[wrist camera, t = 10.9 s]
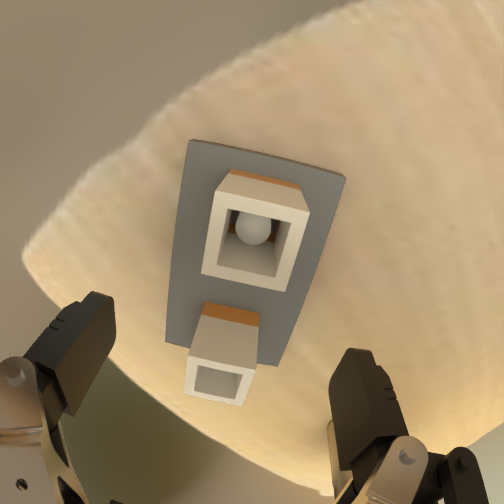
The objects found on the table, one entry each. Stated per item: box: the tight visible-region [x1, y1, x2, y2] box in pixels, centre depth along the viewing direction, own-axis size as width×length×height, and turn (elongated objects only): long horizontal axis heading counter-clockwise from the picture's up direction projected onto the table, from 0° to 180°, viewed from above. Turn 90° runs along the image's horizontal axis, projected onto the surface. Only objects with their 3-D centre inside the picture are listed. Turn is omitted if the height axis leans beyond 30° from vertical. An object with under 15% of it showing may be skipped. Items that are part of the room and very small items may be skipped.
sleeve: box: [201, 169, 310, 292], centre depth 19 cm, size 5×5×7 cm
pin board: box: [165, 139, 346, 406], centre depth 23 cm, size 20×12×8 cm, turn 167°
